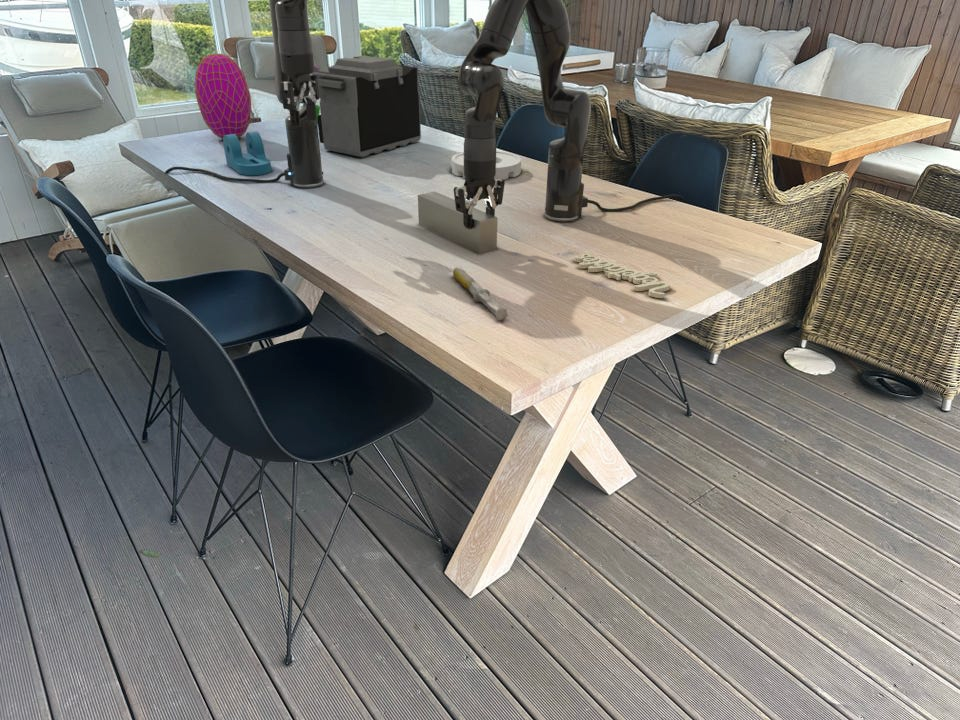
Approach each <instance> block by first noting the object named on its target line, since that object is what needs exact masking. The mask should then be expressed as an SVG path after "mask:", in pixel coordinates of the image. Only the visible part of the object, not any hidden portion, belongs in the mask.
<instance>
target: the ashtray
mask: <svg viewBox="0 0 960 720" xmlns="http://www.w3.org/2000/svg"><path fill="white" fill-rule="evenodd" d="M521 172H522V158H521V157H520V156H519V155H517V154H515V153H512V152H508V151H502V150H501V151H500V150H496V175H495V177H494V179H496V178H498V179H502V180H504V181H505V180H508V179H509V178H515V177H517V176H519V175H521ZM451 173H452V174H453V175H454V176H456V177H462V178H463V179H465V176H464V151H463V152H459V153H456V154H454V155H453V156H452V157H451Z"/></svg>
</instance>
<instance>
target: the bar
mask: <svg viewBox="0 0 960 720" xmlns="http://www.w3.org/2000/svg"><path fill="white" fill-rule="evenodd" d="M468 208H469V207H468ZM417 209H418V211H417V212H418V215H417V217H418V226H420V227H422V228H424V229H425V230H426V229H427V230H428V231H431V232H433V233H435V234H437V235H439V236H440V237H443V238H445V239H447V240H449V241H451V242H453V243H455V244H457V245H460V246H462V247H464V248H466V249H468V250H470V251H472V252H474V253H476V254H478V255H481V254H482V255H483V254H485V253H489V252H492V251H496V250H497V249H498V216H496V215H495V216H493V215H491V214H488V213H486V211H483V210H481V209H479V208H477V207H474V209H473V212H472V214H473V223H472V229H467V228H465V226H464V224H463V213H461V212H459V211H457V210H456V205H455V198H451V197H450V196H447V195H444V194H442V193H439V192H437V191H431V192H425V193H420V194H417Z"/></svg>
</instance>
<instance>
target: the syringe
mask: <svg viewBox="0 0 960 720" xmlns="http://www.w3.org/2000/svg"><path fill="white" fill-rule="evenodd" d="M452 274H453V277H454V279H455V280H457V281H458V282H459V283H460V285H462V287H464V289H466V290H467V291H468V293H470V295H471V296H472V298H473V300H474V302H477V303H478V302H480V303H482V304H483V305H484V306H485V307H486V308H487V309H488V310H489V311H490V312H491V313H492V314H493V315H494V316H495V317H496V320H497V321H503V320H504V319H506V318H507V317H509V314H508V310H507V308H506V307H502V306H501V305H500V303H498V302H497V301H496V300H494V299H493V298H492V297H491V296H490V295H491V293H490V290H488V289H486V288H483V287H482V286H481V285H480V284H479V283H478V282H477V281H476V280H474V278H473V277H471V275H469V274H468V273H467V272H466V270H465V269H464V268H463V267H462V266H456V267H454V268H453V271H452Z"/></svg>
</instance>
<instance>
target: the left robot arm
mask: <svg viewBox="0 0 960 720" xmlns="http://www.w3.org/2000/svg"><path fill="white" fill-rule="evenodd" d="M268 4H269V14H270V15H269V16H270V24H271V33H272V40H273V41H272V43H273V57H274V62H273V63H274V87H275V94H276V97H277V100H278V102H279V103H280V104H282V108H283V109H284V110H287V111H288V112H289V115H288V116H286V117H285V120H284V123H285V131H286V138H287V146H288V153H287V154H286V161H287V168H286V169H283V172H281V173H279V174H278V175H277V176H276V177H275V178H271V179H258V178H239V177H232V176H231V177H230V176H226V175H222V174H219V173H217V172H214V171H210V170H207V169H202V168H193V167H185V166H172V167H169V168H168V169H166V170H165V171H164V173H163V174H164V175H168V174H169V173H170V172H173V171H177V170H179V171H187V172H195V173H196V172H197V173H198V172H199V173H204V174H208V175H210V176H214V177H217V178H219V179H222V180H225V181H231V182H242V183H259V184H260V183H261V184H262V183H263V184H264V183H275V182H278V181H280V179H281V178H283V177H284V181H287V182H288V181H289V184H290V186H294V187H296V188H300V189H301V188H303V189H310V188H317V187H320V186H322V185H324V184H325V182H324V171H323V167H322V157H321V147H320V139H319V130H318V123H317V115H316V105H317V103H318V100H319V101H320V96H319V88H318V81H317V75H316V74H311V73H313V72H314V71H315V69H314V66H315V60H314V49H313V42H312V41H313V40H312V36H311V32H310V31H311V30H310V23H309V11H308V0H268ZM301 104H302V105H301ZM301 106H302V108H301Z"/></svg>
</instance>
